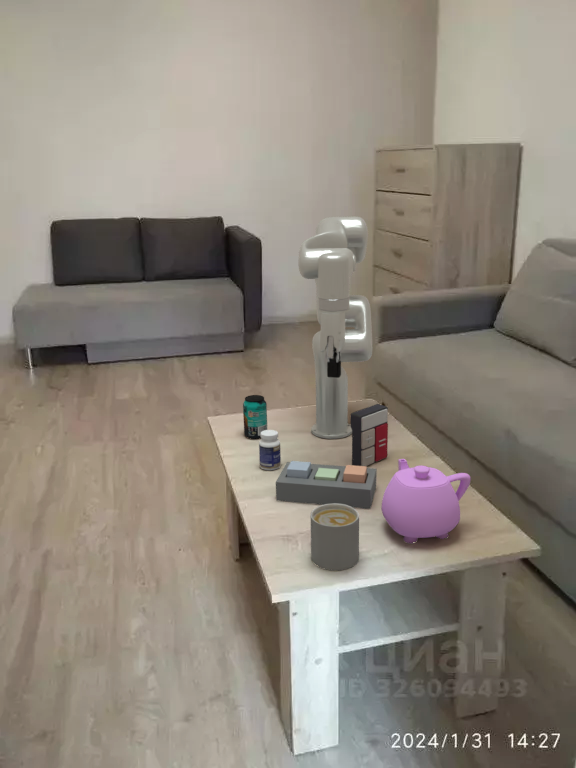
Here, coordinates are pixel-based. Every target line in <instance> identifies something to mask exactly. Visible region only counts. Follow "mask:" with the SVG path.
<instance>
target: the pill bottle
mask: <svg viewBox="0 0 576 768" xmlns="http://www.w3.org/2000/svg"><path fill="white" fill-rule="evenodd" d="M278 437H279V432H278V430H276V429H275V430H274V429H267V430H264V431H262V432H261V439H260V440H259V442H258V448H259V449H258V450H259V451H258V453H259V455H258V457H259V460H258V461H259V467H260V468H261V469H262V470H264V471H274V470H275V471H276V470H278V469H280V468H281V465H282V462H281V461H282V458H281V441H280V440H279V438H278Z"/></svg>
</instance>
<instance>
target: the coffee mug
mask: <svg viewBox="0 0 576 768" xmlns="http://www.w3.org/2000/svg"><path fill="white" fill-rule="evenodd" d="M310 559H311V562H312V561H313V562H314V563H315V564H316V565H318V566H319V567H318V566H317V567H318V568H320V567H321V568H320V569H322V568H325V569H324V570H326V569H329V570H328V571H334V570H338V571H344V570H349V569H350V568H353V567H354V566H356V565H357V564H358V563H359V559H360V513H359V511H358V509H356V508H354V507H351V506H348V505H345V504H337V503H332V504H324V505H319V506H318V505H317V507H315V508H313V509H312V510H311V512H310ZM313 562H312V563H313ZM314 563H313V564H314ZM315 564H314V565H315ZM316 565H315V566H316Z"/></svg>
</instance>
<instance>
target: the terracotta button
mask: <svg viewBox="0 0 576 768" xmlns="http://www.w3.org/2000/svg"><path fill="white" fill-rule="evenodd" d="M345 466H346V468H345V471H344V473H343V482H352V483H365V484H366V480H367V468H368V466H354V465H352V464H346V465H345Z"/></svg>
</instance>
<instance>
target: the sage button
mask: <svg viewBox="0 0 576 768" xmlns="http://www.w3.org/2000/svg"><path fill="white" fill-rule="evenodd" d="M338 476H339V469H328V468H319V469H318V471H317V473H316V475H315V480H327V481H337V479H338Z"/></svg>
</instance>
